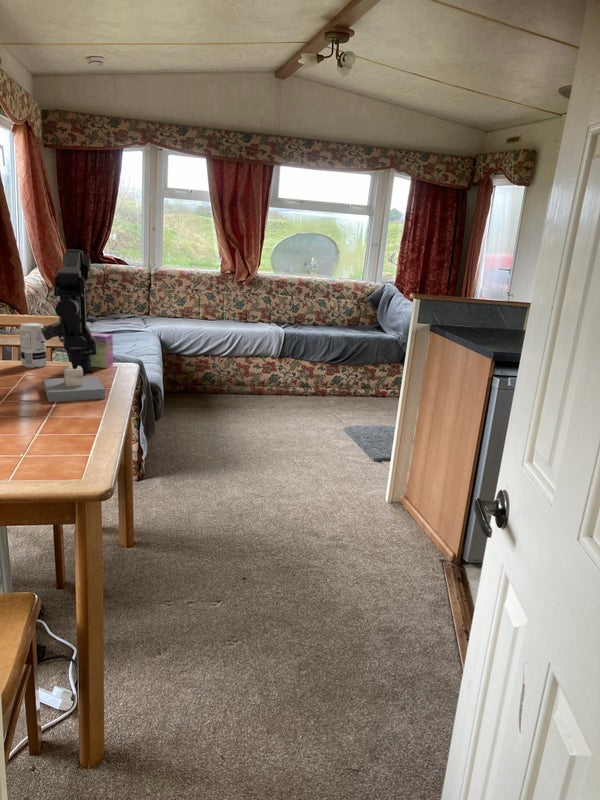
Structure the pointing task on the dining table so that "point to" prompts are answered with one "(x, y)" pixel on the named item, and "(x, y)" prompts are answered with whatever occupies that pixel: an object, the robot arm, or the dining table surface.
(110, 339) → the box
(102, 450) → the dining table surface
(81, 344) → the robot arm
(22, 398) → the dining table surface
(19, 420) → the dining table surface
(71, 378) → the cube
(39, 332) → the supplement can
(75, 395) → the base board
